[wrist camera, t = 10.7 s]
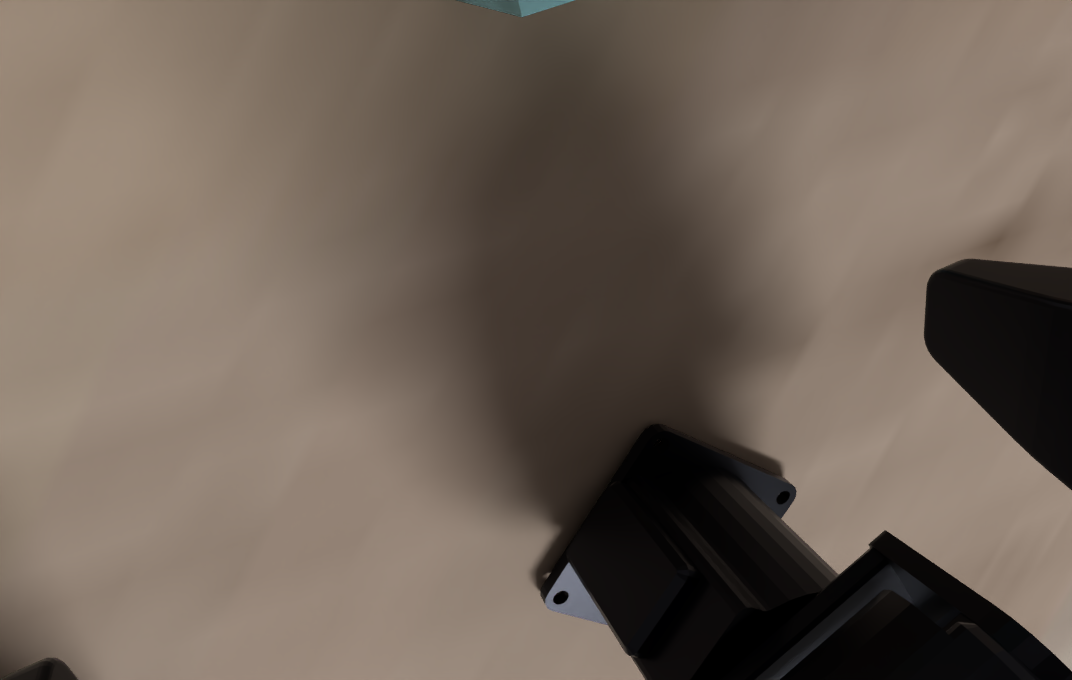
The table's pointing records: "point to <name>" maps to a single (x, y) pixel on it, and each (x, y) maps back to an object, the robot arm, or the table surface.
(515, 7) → the grey teal angled piece
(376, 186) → the table surface
